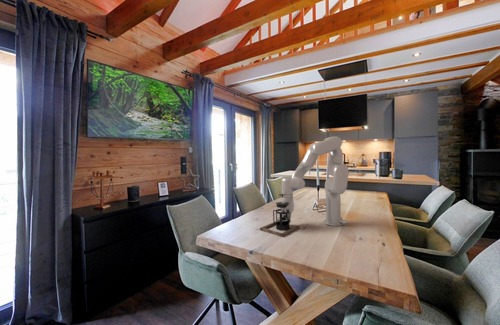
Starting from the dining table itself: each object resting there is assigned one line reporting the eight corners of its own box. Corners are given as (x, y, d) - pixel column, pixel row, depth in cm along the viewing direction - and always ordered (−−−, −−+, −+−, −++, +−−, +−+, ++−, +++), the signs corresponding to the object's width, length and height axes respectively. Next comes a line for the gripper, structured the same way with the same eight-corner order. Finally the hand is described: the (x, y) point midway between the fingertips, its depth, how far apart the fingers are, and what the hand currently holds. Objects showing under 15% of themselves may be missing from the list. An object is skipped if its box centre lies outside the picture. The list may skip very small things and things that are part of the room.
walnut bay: (299, 228, 143) (299, 225, 143) (282, 236, 129) (282, 234, 129) (277, 222, 155) (277, 220, 155) (260, 230, 142) (259, 227, 141)
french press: (292, 226, 146) (291, 193, 145) (289, 231, 138) (288, 195, 137) (275, 224, 151) (274, 192, 150) (271, 229, 142) (270, 194, 141)
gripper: (288, 193, 156) (289, 218, 157) (276, 197, 145) (277, 223, 146) (297, 194, 151) (298, 220, 152) (285, 198, 140) (286, 226, 141)
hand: (287, 222), depth 149 cm, fingers closed
